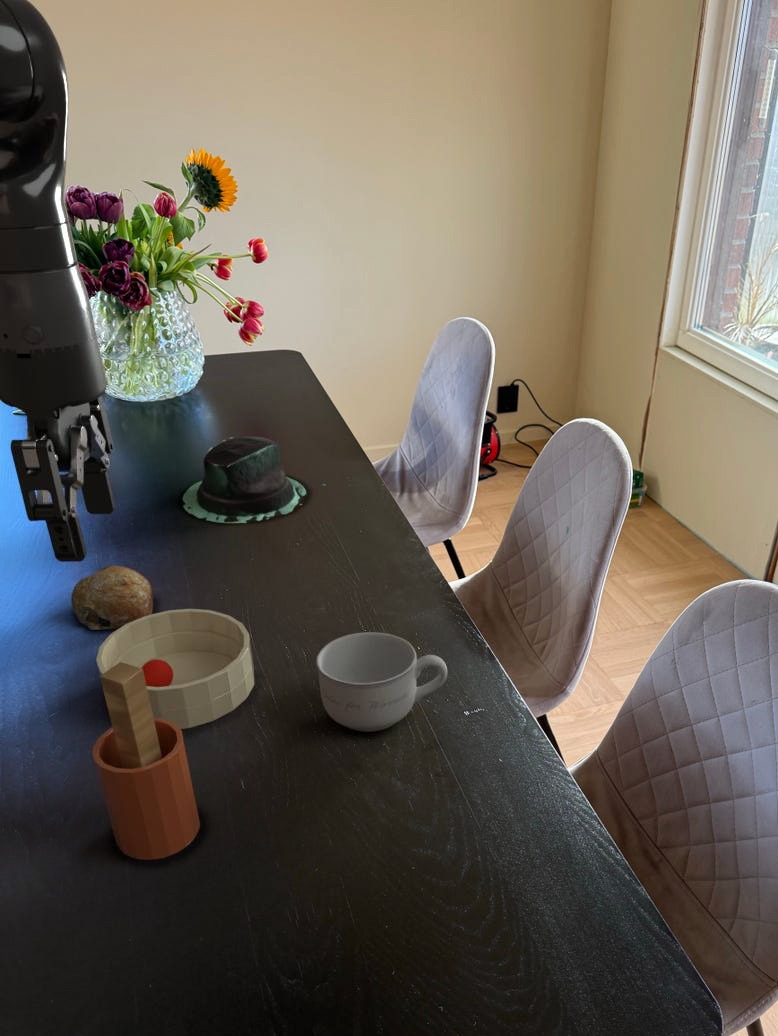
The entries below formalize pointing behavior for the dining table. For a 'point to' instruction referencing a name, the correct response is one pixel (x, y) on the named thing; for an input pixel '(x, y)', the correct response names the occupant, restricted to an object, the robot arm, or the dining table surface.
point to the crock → (149, 796)
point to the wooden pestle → (131, 715)
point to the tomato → (157, 673)
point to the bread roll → (112, 598)
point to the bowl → (187, 662)
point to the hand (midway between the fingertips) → (87, 534)
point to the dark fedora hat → (242, 482)
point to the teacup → (373, 679)
